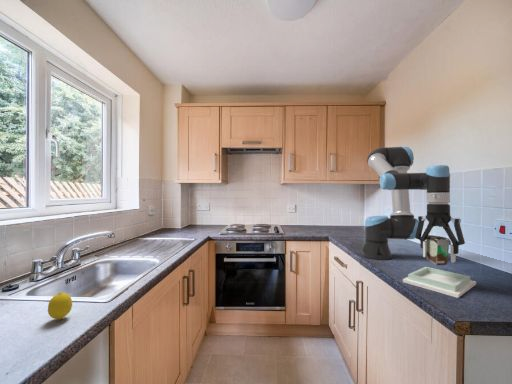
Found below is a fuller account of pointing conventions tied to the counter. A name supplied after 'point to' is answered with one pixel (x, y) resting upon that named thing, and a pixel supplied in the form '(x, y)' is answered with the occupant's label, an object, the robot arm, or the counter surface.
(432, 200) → the robot arm
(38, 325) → the counter surface
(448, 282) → the pocket plate
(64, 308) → the lemon
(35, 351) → the counter surface
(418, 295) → the counter surface
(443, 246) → the food container
